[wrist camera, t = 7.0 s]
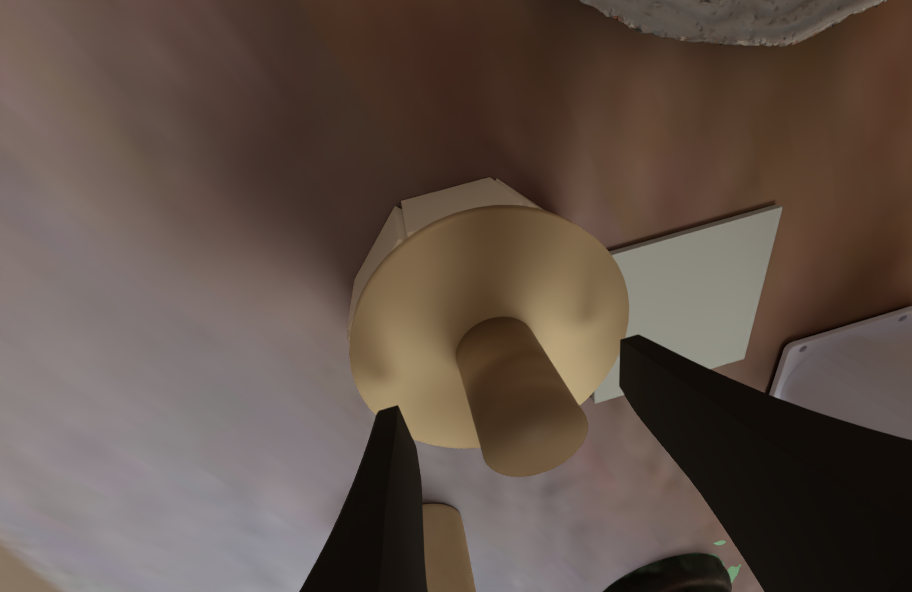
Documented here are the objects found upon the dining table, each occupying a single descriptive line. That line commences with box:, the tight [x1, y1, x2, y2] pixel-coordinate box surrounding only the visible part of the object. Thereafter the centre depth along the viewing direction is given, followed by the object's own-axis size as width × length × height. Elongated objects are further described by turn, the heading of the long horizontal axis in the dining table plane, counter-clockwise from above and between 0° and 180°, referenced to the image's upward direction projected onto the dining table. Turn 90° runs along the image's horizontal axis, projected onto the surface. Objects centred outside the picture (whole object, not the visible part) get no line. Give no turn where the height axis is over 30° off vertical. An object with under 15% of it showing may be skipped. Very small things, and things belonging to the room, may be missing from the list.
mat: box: [591, 205, 783, 403], centre depth 20 cm, size 10×10×1 cm
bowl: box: [347, 177, 544, 343], centre depth 16 cm, size 10×10×4 cm
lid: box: [349, 205, 629, 477], centre depth 12 cm, size 10×10×5 cm
